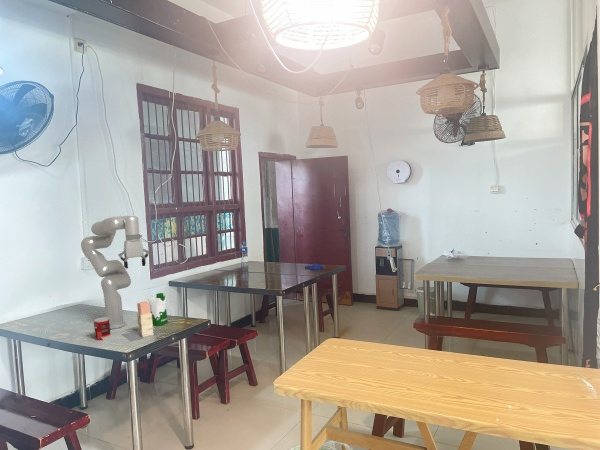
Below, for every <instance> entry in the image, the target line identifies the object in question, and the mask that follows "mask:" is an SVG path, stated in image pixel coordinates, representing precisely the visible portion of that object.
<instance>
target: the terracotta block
mask: <svg viewBox="0 0 600 450" xmlns="http://www.w3.org/2000/svg"><path fill="white" fill-rule="evenodd" d="M136 303H137V304H136V306H137V314H140V315H144V314H149V313H150V304H149V301H148V300H144V301H140V302H136Z"/></svg>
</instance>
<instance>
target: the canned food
mask: <svg viewBox="0 0 600 450" xmlns="http://www.w3.org/2000/svg"><path fill="white" fill-rule="evenodd" d="M93 327H94V337H95V340H97V341H103V340H104V339H103V338H106V337H109V336H111V329H110V323H109V318H108V317H106V316H104V317H98V318H97V317H96V318H94V320H93Z"/></svg>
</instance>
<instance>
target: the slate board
mask: <svg viewBox="0 0 600 450" xmlns="http://www.w3.org/2000/svg"><path fill="white" fill-rule="evenodd" d="M160 335H161V333H159V332H158V331H156V330H155V329H153V335H149V336H145V337H142V336H140V335H139V329H137V330H134V331H131V332H126V333H122V334H121V336H123V337H124V338H126V340H129V342H131V343H132V342H135V341H140V340H144V339H147V338H152V337H156V336H160Z"/></svg>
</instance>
